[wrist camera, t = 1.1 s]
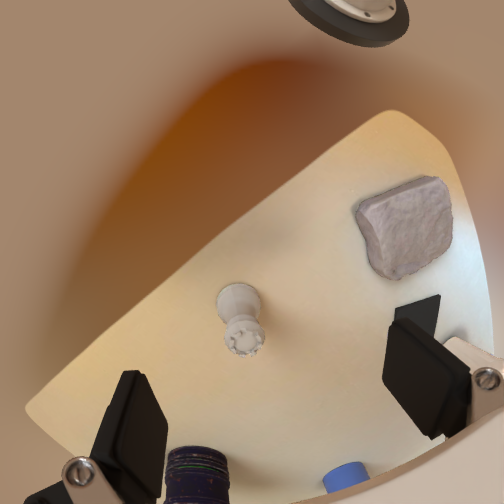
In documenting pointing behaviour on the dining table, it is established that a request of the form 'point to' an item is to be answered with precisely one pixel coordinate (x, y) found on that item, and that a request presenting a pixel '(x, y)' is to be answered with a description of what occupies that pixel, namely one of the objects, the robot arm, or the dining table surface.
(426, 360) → the robot arm
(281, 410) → the dining table surface
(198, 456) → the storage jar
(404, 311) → the mat
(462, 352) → the cup
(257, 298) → the rook chess piece
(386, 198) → the stone block
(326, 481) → the water bottle
